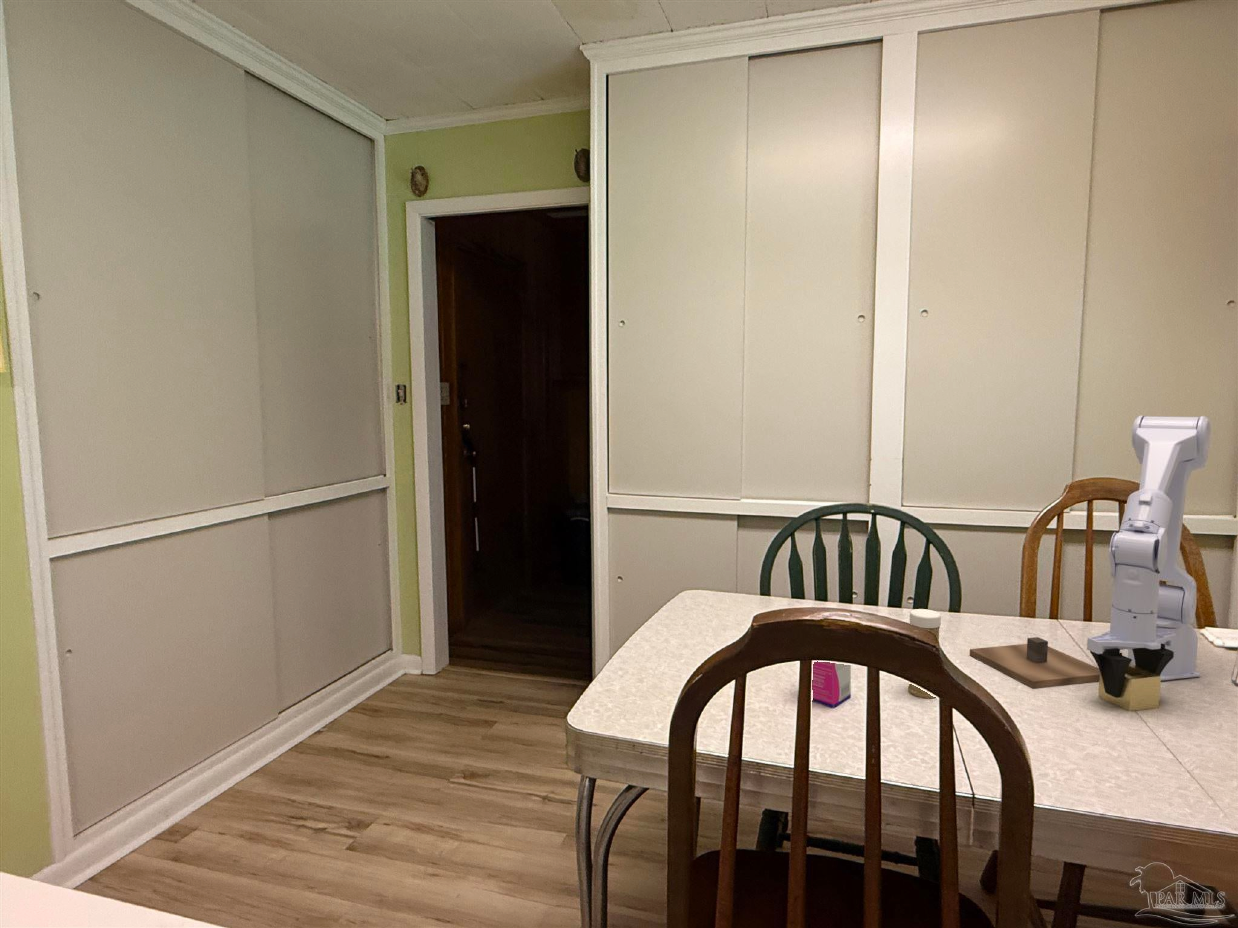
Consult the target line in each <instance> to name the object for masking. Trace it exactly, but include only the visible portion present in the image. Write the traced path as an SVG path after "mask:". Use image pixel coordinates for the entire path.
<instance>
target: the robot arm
mask: <svg viewBox="0 0 1238 928" xmlns="http://www.w3.org/2000/svg"><path fill="white" fill-rule="evenodd" d="M1210 437H1211V421H1210V419H1209V418H1208V417H1206V415H1201V416H1147V415H1146V416H1145V415H1138V417H1136V418H1135V419H1134V422H1133V424H1132V429H1131V444H1132V445H1131V446H1132V448H1133V450H1134V453H1135V456H1136V459H1137V460H1138V462H1139V464H1140V465H1142V466H1141V472H1140V480H1139V481H1140V482H1139V487H1138V489H1139V490H1137V491H1134V492H1132V493H1131V494H1129V496H1128V497H1127V502H1126V505H1125V508H1124V512H1123V516H1122V519H1121V522H1120V523H1121V524H1120V528H1119V530H1118V532H1115V531H1114V532H1113V534H1112V536H1111V538H1110V543H1109V548H1108V549H1109V552H1108V553H1109V562H1110V577H1112V579H1113V580H1112V592H1111V593H1112V594H1111V606H1110V607H1111V610H1110V626H1109V630H1108V631H1106V632H1104V633H1100V634H1098V635H1095V636H1091V637H1087V641H1086V642H1087V643H1086V650H1087V651H1089V653H1090V654H1091V655H1092V658H1093V659H1094V661H1095V663H1096V665H1097V668H1099V670H1100V673H1101V676H1102V680H1103V684H1104V689H1105V693H1107V694H1109V695H1111V696H1113V697H1115V698H1119V697H1120V696H1121V693H1122V689H1123V682H1124V677H1125V673H1126V670H1127V668H1128V666H1129V664H1132V665H1135V666H1137V667H1140V668H1142V669H1144V670H1147V671H1149V672H1152V673H1154V674H1157V675H1159V676H1161V682H1162V681H1170V680H1177V679H1179V680H1180V679H1188V678H1189V679H1190V678H1197V677H1201V673H1200V672H1198V671H1196V669H1197V658H1198V646H1199V645H1198V643H1199V639H1198V633H1197V631H1196V630H1195V628H1194V627H1193V626H1192V625H1191V624H1192V623H1193V622H1194V620H1195V616H1196V610H1197V602H1198V601H1197V597H1198V596H1197V583H1196V580H1195V579H1194V577H1192V576H1191V575H1190V574H1189V573H1188V572H1187V571H1185V570H1184V569H1182V568H1181V567H1180V566H1179V557H1180V556H1179V555H1180V548H1181V547H1180V546H1181V541H1182V540H1181V539H1182V531H1183V522H1184V514H1185V506H1186V505H1185V503H1186V495H1187V487H1188V486H1187V485H1188V482H1189V479H1190V477H1191V474H1192V472H1193V471H1196V470H1199V469H1201V468H1202V469H1203V468H1204V467H1205V466H1206V462H1207V460H1208V455H1209V448H1210V441H1211V440H1210V439H1211V438H1210ZM1160 581H1162V582H1167V583H1175V584H1178V585H1174V584H1173V585H1172V584H1165V583H1160ZM1179 585H1180V586H1179ZM1122 650H1127V656H1125V655H1123V652H1121V651H1122Z"/></svg>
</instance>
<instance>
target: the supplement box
mask: <svg viewBox="0 0 1238 928" xmlns="http://www.w3.org/2000/svg"><path fill="white" fill-rule="evenodd" d="M851 666H852V665H844V664H836V663H830V662H818V661H817V662H814V664H813V680H812V690H813V701H812V702H814V703H817V704H820V705H823V706H826V707H829V708H831V709H835V708H836V707H837V706H839V705H840V704H843V703H844V702H846V701H847V700H849V699H851V697H852V695H851V689H852V687H851V686H852V685H851V679H852V678H851V674H852V673H851V672H852V671H851Z"/></svg>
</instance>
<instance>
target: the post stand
mask: <svg viewBox="0 0 1238 928" xmlns="http://www.w3.org/2000/svg"><path fill="white" fill-rule="evenodd" d="M969 656H970V657H972V658H974V659H975V660H977V659H978V661H979V662H982V663H984V664H986V665H987V666H989V667H990V668H993V669H994V670H997V671H999V672H1001V674H1005V675H1006V676H1008V677H1011V678H1012V679H1014V680H1016V681H1017V682H1020V683H1021V684H1023V685H1026V686H1027V687H1029V688H1031V689H1038V688H1040V689H1041V688H1049V687H1057V686H1058V687H1059V686H1067V685H1069V686H1070V685H1077V684H1085V683H1086V684H1087V683H1094V682H1095V683H1096V682H1099V679H1100V670H1099V668H1098V666H1095V665H1093V664H1090V663H1088V662H1085V661H1083V660H1080V659H1078V658H1076V657H1074V656H1072V655H1069V654H1066V653H1065V652H1062V651H1060V650H1057V649H1055V648H1053V647H1051V646H1049V640H1046V639H1043V638H1041V637H1040V636H1039V637H1038V636H1035V637H1027V640H1026V643H1021V644H1011V645H1010V644H1009V645H998V646H989V647H978V648H976V647H975V648H970V649H969Z"/></svg>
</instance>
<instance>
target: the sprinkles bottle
mask: <svg viewBox="0 0 1238 928" xmlns="http://www.w3.org/2000/svg"><path fill="white" fill-rule="evenodd" d="M941 623H942V615H941V614H940V613H939V612H938V611H935V610H932V609H925V608H918V609H917V608H915V609H912V610H910V612H909V625H910V624H912V625H914V626H918V627H921V628H923V629H926V630H929V631H930V632H933V633H934V634H935V635H936V636H937V638H938V639H939V640H940V628H941ZM907 687H908V688H907V691H908V692H909V693H910V694H911V695H913V696H914V697H919V698H923V699H924V698H925V699H931V698H934V697H933V696H931V695H930V694H928V693H927V692H925V691H923V690H921V689H920V688H918V687H916V686H914V685H912V684H909V683H908V686H907Z"/></svg>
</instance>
